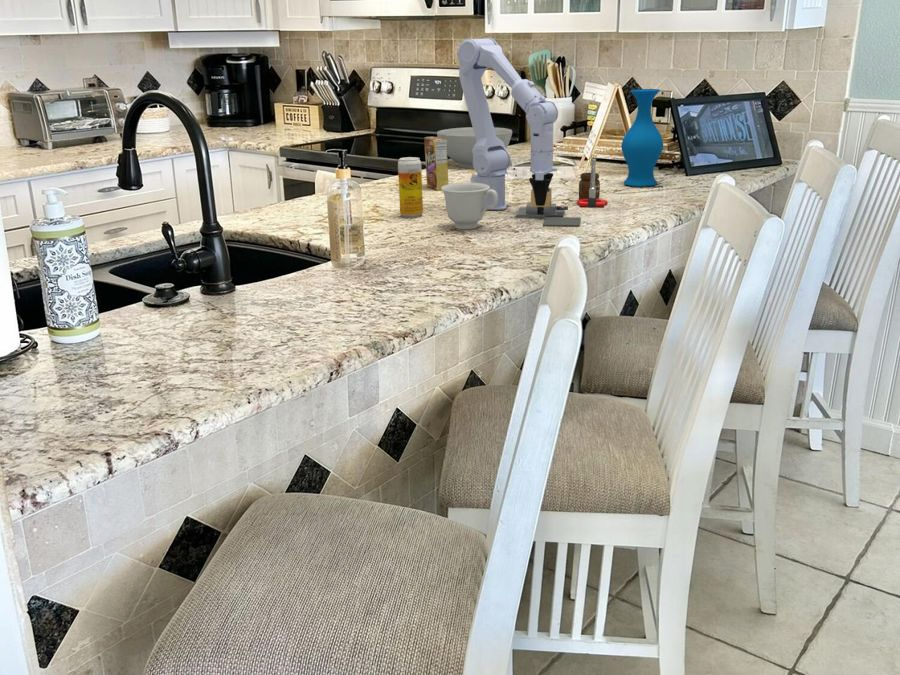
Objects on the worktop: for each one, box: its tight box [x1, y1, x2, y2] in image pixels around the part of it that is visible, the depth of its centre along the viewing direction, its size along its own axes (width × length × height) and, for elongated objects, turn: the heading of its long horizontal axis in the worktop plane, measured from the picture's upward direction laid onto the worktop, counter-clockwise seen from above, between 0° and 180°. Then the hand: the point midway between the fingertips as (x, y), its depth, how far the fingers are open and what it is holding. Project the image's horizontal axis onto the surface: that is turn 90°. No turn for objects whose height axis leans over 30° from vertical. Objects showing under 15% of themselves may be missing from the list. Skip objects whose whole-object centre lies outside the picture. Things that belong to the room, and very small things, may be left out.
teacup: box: [441, 182, 498, 230], centre depth 207 cm, size 12×15×10 cm
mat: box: [542, 216, 582, 228], centre depth 211 cm, size 9×9×1 cm
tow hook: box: [576, 158, 609, 208], centre depth 230 cm, size 8×13×9 cm
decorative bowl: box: [436, 126, 513, 169], centre depth 301 cm, size 27×27×12 cm
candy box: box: [423, 136, 449, 192], centre depth 259 cm, size 9×4×15 cm, turn 23°
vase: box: [621, 88, 664, 188], centre depth 253 cm, size 12×13×28 cm
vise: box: [515, 202, 569, 219], centre depth 220 cm, size 13×10×6 cm
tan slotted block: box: [530, 187, 553, 207], centre depth 220 cm, size 5×5×4 cm
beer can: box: [397, 156, 424, 219], centre depth 221 cm, size 6×6×15 cm
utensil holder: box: [578, 154, 601, 200], centre depth 238 cm, size 6×6×12 cm
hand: (541, 203), depth 220 cm, fingers closed on tan slotted block, 5 cm apart
